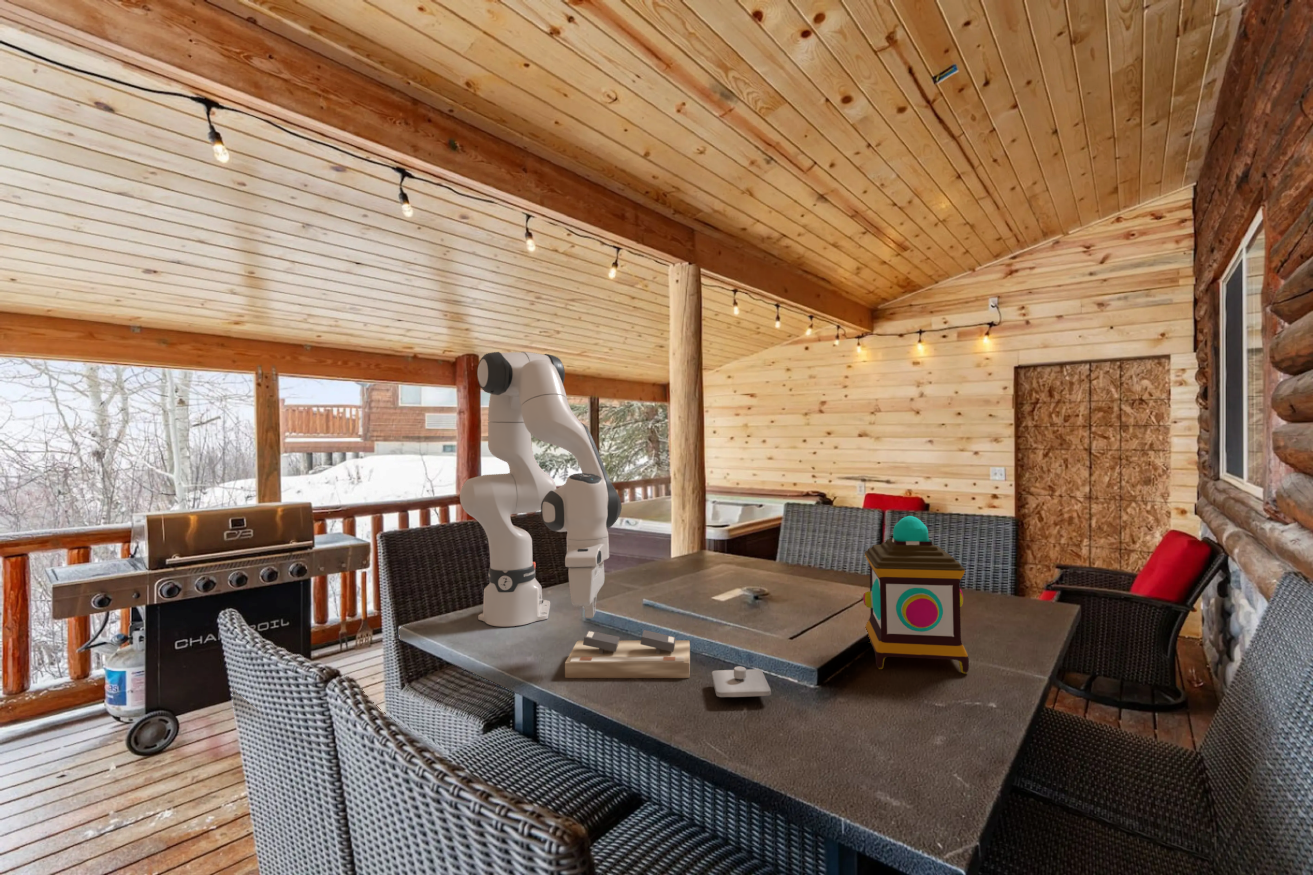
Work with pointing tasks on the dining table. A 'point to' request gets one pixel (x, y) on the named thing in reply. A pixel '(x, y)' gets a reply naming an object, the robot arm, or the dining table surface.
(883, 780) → the dining table surface
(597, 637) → the plate
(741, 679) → the light switch
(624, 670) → the switch panel
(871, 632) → the decorative lantern
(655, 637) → the plate
